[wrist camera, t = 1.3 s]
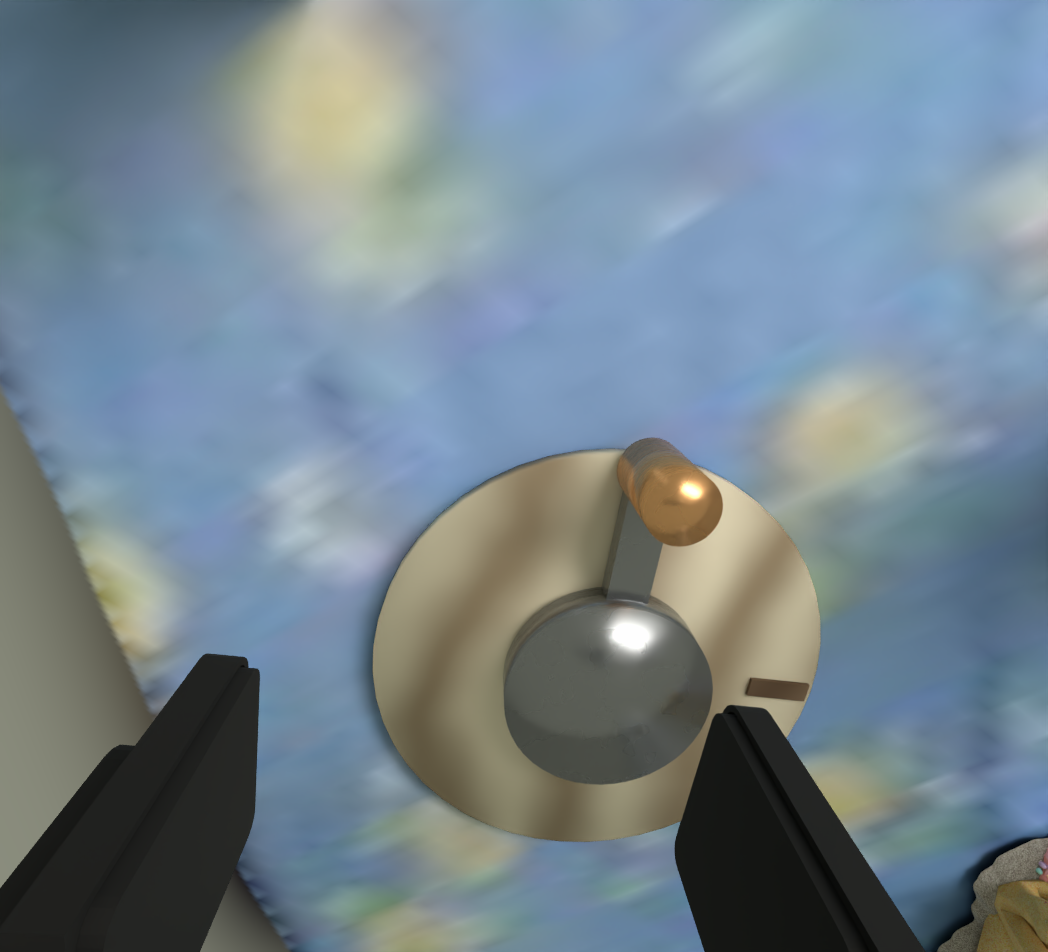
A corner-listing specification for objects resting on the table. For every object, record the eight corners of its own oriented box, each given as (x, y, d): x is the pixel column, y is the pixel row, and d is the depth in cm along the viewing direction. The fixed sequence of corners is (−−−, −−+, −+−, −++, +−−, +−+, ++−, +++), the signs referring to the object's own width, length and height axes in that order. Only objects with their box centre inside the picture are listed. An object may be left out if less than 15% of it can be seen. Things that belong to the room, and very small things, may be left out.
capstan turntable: (673, 762, 33) (705, 844, 28) (489, 746, 32) (490, 828, 27) (763, 453, 28) (820, 490, 23) (546, 422, 27) (559, 453, 22)
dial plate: (870, 483, 30) (885, 491, 29) (745, 839, 37) (753, 858, 36) (398, 415, 28) (394, 421, 26) (358, 811, 34) (354, 829, 33)
